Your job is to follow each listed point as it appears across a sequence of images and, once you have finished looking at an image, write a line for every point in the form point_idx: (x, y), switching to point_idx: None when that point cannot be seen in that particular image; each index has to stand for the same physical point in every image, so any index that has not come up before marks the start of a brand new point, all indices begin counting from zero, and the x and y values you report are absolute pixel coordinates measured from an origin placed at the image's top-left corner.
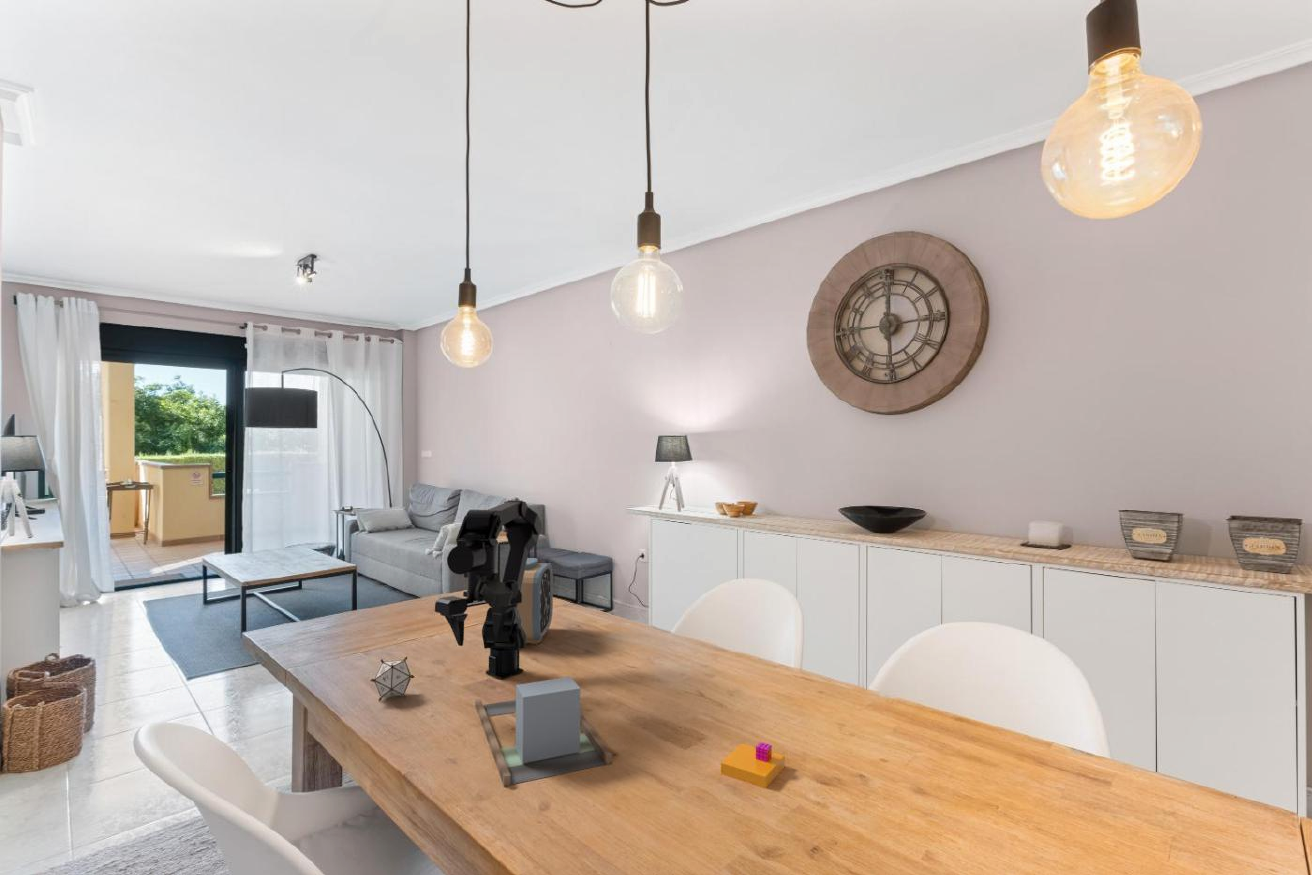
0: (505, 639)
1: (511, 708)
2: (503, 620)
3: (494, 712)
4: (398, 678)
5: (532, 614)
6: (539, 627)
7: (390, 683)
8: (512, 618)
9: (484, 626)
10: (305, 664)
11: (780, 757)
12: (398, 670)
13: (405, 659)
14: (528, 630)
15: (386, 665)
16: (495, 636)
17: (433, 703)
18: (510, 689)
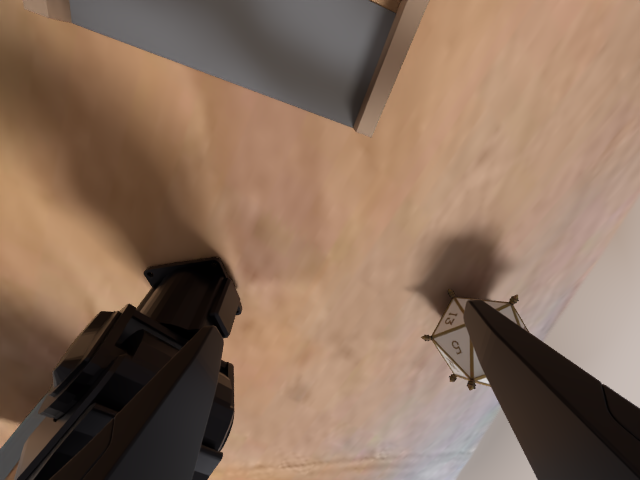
0: (159, 348)
1: (284, 11)
2: (113, 434)
3: (349, 27)
4: None
5: (12, 472)
6: (25, 419)
7: (517, 317)
8: (51, 454)
9: (221, 443)
10: (451, 453)
11: None
12: None
13: (473, 381)
14: None
15: None
16: (220, 339)
17: (428, 228)
18: (222, 182)
